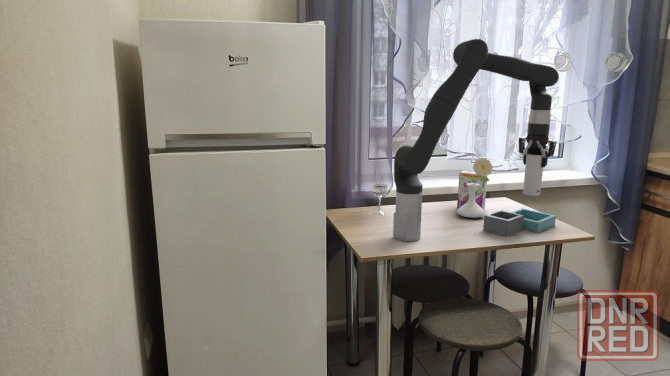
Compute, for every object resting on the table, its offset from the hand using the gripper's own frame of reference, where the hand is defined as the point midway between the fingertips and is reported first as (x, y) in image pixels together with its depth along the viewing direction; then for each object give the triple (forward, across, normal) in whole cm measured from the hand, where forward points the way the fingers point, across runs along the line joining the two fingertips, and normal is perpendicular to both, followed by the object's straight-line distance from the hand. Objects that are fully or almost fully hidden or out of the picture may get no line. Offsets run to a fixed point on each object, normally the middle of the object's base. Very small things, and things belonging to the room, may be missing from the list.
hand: (534, 165), depth 179 cm
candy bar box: (+24, -28, +2) cm, 37 cm away
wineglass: (+24, -50, -33) cm, 64 cm away
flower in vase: (+24, -21, -7) cm, 33 cm away
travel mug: (+12, 0, 0) cm, 12 cm away
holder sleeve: (+24, -3, -14) cm, 28 cm away
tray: (+24, 0, 0) cm, 24 cm away
